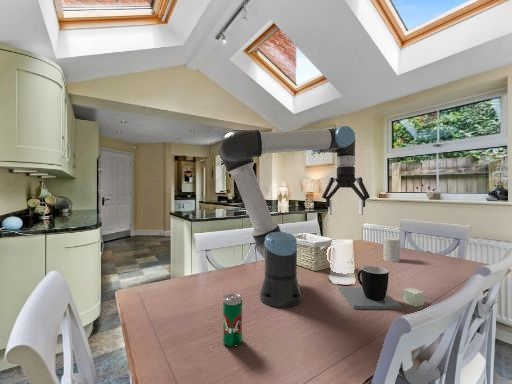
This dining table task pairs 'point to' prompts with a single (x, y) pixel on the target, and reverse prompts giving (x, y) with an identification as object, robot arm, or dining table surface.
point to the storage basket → (312, 251)
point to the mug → (374, 282)
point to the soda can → (232, 319)
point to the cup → (391, 249)
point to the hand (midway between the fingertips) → (345, 214)
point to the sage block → (413, 296)
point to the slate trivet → (361, 302)
